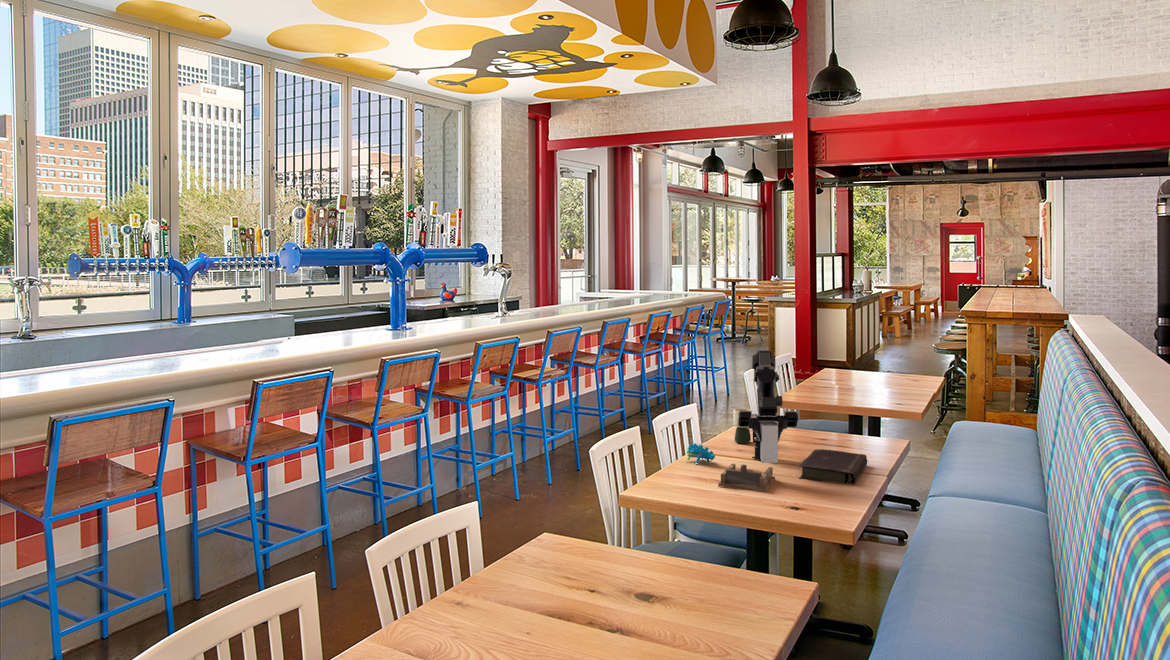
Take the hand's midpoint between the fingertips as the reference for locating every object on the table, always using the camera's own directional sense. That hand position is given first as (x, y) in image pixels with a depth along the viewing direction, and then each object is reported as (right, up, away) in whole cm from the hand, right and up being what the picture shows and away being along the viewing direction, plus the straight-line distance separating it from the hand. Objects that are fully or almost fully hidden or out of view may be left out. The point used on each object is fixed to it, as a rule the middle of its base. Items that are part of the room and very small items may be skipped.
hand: (769, 441), depth 243 cm
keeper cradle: (-7, -14, +1) cm, 15 cm away
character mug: (+3, -9, +55) cm, 56 cm away
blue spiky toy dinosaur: (-18, -12, +28) cm, 35 cm away
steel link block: (0, -6, +2) cm, 7 cm away
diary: (+24, -13, +12) cm, 30 cm away
